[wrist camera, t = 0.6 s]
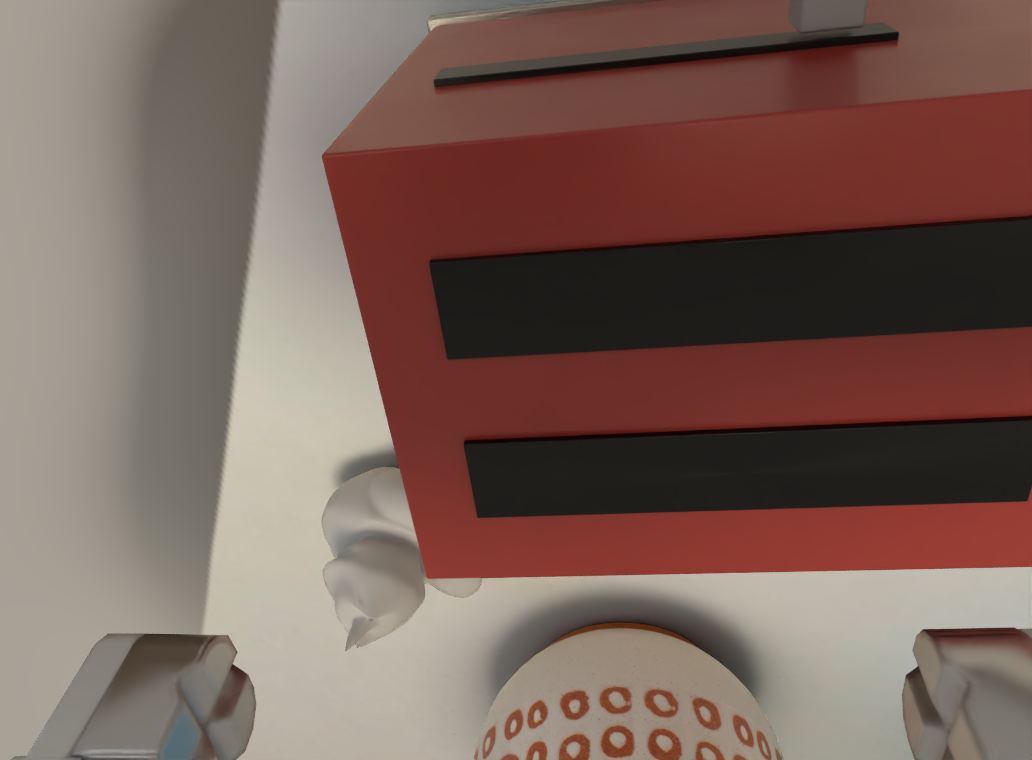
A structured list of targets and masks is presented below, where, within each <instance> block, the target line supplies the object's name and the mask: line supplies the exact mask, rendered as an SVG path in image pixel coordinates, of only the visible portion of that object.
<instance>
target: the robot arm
mask: <svg viewBox="0 0 1032 760" xmlns="http://www.w3.org/2000/svg"><path fill="white" fill-rule="evenodd" d="M913 653H914V656H915V658H916V661H917V664H918V667H917V668H915V669H914V670H913V671H911V672H910V673H908V674H907V675H906V678H905V683H904V688H903V693H902V700H903V719H904V723H905V728H906V732H907V737H908V740H909V743H910V746H911V750H912V753H913V756H914V759H915V760H1032V629H1016V628H972V629H923V630H922V631H921V632H920V633H919V634H918V635H917V636H916V639H915V643H914V647H913ZM236 654H237V651H236V649H235V647H234V645H233V643H232V641H231V640H230V638H229V636H228V635H184V634H182V635H181V634H107V635H106V636H105V637H103V638H102V639H101V640H100V641H98V642H97V643H96V644H95V645H94V647H93V648H92V650H91V652H90V653H89V655H88V656H87V658H86V660H85V661H84V663H83V665H82V666H81V668H80V670H79V671H78V673H77V674H76V676H75V678H74V680H73V681H72V683H71V684H70V686H69V688H68V689H67V691H66V692H65V694H64V696H63V697H62V699H61V701H60V702H59V704H58V706H57V707H56V709H55V711H54V712H53V714H52V715H51V717H50V719H49V720H48V722H47V724H46V725H45V727H44V729H43V730H42V732H41V733H40V735H39V737H38V738H37V740H36V742H35V743H34V745H33V747H32V748H31V750H30V751H29V753H28V755H27V756H20V757H19V756H18V757H17V756H16V757H14V758H12V759H11V760H236V759H237V758H238V757H239V756H240V755H242V754H243V753H244V752H245V750H246V747H247V745H248V742H249V739H250V736H251V733H252V730H253V726H254V718H255V710H256V699H255V692H254V687H253V684H252V682H251V680H250V678H249V676H248V674H246V673H245V672H243V671H242V670H241V669H239V668H238V667H236V666H235V665H233V661H234V659H235V656H236Z"/></svg>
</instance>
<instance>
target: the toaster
mask: <svg viewBox="0 0 1032 760" xmlns="http://www.w3.org/2000/svg"><path fill="white" fill-rule="evenodd" d="M788 13H789V0H565V1H556V2H548V3H539V4H530V5H521V6H512V7H504V8H495V9H486V10H477V11H468V12H460V13H451V14H442V15H433V16H430V17H429V18H428V19H427V26H428V32H429V34H428V35H427V36H426V37H425V39H424V40H423V41H422V42H421V43H420V44H419V45H418V47H417V48H416V49H415V50H414V51H413V52H412V53H411V55H410V56H409V57H408V58H407V59H406V60H405V61H404V63H403V64H402V65H401V66H400V67H399V68H398V69H397V71H396V72H395V73H394V74H393V75H392V76H391V77H390V79H389V80H388V81H387V82H386V83H385V84H384V85H383V87H382V88H381V89H380V90H379V91H378V92H377V93H376V94H375V96H374V97H373V98H372V99H371V100H370V101H369V102H368V104H367V105H366V106H365V107H364V108H363V109H362V110H361V112H360V113H359V114H358V115H357V116H356V117H355V118H354V120H353V121H352V122H351V123H350V124H349V125H348V126H347V128H346V129H345V130H344V131H343V132H342V133H341V134H340V136H339V137H338V138H337V139H336V140H335V141H334V142H333V144H332V145H331V146H330V147H329V148H328V149H327V150H326V151H325V153H324V154H323V155H322V159H323V164H324V168H325V172H326V176H327V180H328V184H329V188H330V192H331V196H332V200H333V204H334V208H335V212H336V216H337V220H338V224H339V228H340V232H341V236H342V240H343V244H344V248H345V252H346V256H347V260H348V264H349V268H350V272H351V276H352V280H353V284H354V288H355V292H356V296H357V300H358V304H359V308H360V312H361V316H362V320H363V324H364V328H365V332H366V336H367V340H368V344H369V348H370V352H371V356H372V360H373V364H374V368H375V372H376V377H377V381H378V385H379V389H380V393H381V397H382V401H383V405H384V409H385V413H386V417H387V421H388V425H389V429H390V433H391V437H392V441H393V445H394V449H395V453H396V457H397V461H398V465H399V469H400V473H401V477H402V481H403V485H404V489H405V493H406V497H407V501H408V505H409V509H410V513H411V517H412V521H413V525H414V529H415V533H416V537H417V541H418V545H419V549H420V553H421V557H422V561H423V565H424V569H425V573H426V577H427V579H456V578H505V577H554V576H603V575H652V574H701V573H750V572H798V571H847V570H896V569H945V568H994V567H1032V0H868V3H867V12H866V21H865V25H864V26H863V27H861V28H851V29H842V30H832V31H822V32H813V33H800V32H799V31H798V30H797V29H796V28H795V27H793V26H792V25H791V24H790V23H789V21H788Z"/></svg>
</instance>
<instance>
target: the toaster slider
mask: <svg viewBox="0 0 1032 760" xmlns="http://www.w3.org/2000/svg"><path fill="white" fill-rule="evenodd" d="M867 3H868V0H789V13H788V21H789V23H790V24H791V25H792V26H793V27H795V28H796V29H797V30H798V31H799V32H800V33H813V32H822V31H832V30H842V29H851V28H861V27H863V26H864V25H865V21H866V12H867Z"/></svg>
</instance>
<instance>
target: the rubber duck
mask: <svg viewBox="0 0 1032 760" xmlns="http://www.w3.org/2000/svg"><path fill="white" fill-rule="evenodd" d="M322 528H323V532H324V535H325V538H326V540H327V542H328V544H329V546H330V549H331V552H332V554H333V556H334V558H335V559H334V560H332V561H330V562H328V563H327V564H326V565H325V567H324V569H323V578H324V582H325V584H326V587H327V588H328V590H329V592H330V594H331V596H332V598H333V600H334V601H335V609H336V614H337V617H338V620H339V622H340V623H341V625H342V626H343V627H344V628H345V630H346V631H347V632H348V634H349V636H348V639H347V643H346V651H347V650H348V649H349V648H351V647H352V646H353V645H354V644H355V645H356V646H357V648H358V647H362V646H364V645H366V644H368V643H370V642H372V641H375V640H377V639H379V638H381V637H383V636H385V635H387V634H389V633H391V632H392V631H394V630H396V629H397V628H399V627H400V626H402V625H403V624H404V623H405V622H407V621H408V620H409V619H410V618H411V617H412V616H413V614H414V613H415V612H416V610H417V609H418V608H419V606H420V605H421V604H422V603H423V601H424V598H425V586H424V584H430V585H432V586H434V587H435V588H437V589H438V590H440V591H442V592H444V593H446V594H448V595H451V596H455V597H460V598H464V597H468V596H470V595H472V594H473V593H475V592H476V591H477V590H478V589H479V587H480V585H481V582H482V578H456V579H427V577H426V573H425V569H424V565H423V561H422V557H421V553H420V549H419V545H418V541H417V537H416V533H415V529H414V525H413V521H412V517H411V513H410V509H409V505H408V501H407V497H406V493H405V489H404V485H403V481H402V477H401V473H400V469H399V468H395V467H380V468H375V469H372V470H369V471H367V472H365V473H362V474H360V475H358V476H356V477H354V478H352V479H350V480H348V481H346V482H344V483H343V484H342V485H341V486H340V487H339V488H338V489H337V490H336V491H335V492H334V493H333V494H332V496H331V497H330V499H329V501H328V503H327V505H326V507H325V510H324V513H323V516H322ZM346 651H345V652H346Z"/></svg>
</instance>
